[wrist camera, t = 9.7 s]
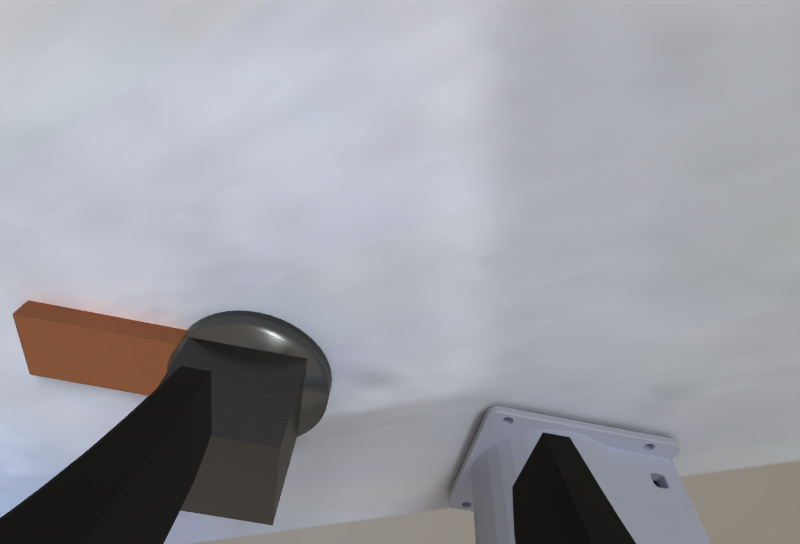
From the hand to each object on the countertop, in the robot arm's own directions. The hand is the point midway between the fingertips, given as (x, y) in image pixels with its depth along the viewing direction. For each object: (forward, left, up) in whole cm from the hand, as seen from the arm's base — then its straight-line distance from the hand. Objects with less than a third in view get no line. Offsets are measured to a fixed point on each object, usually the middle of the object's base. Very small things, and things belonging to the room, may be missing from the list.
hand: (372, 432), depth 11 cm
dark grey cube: (+5, +9, -8) cm, 13 cm away
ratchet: (+8, +9, -9) cm, 15 cm away
